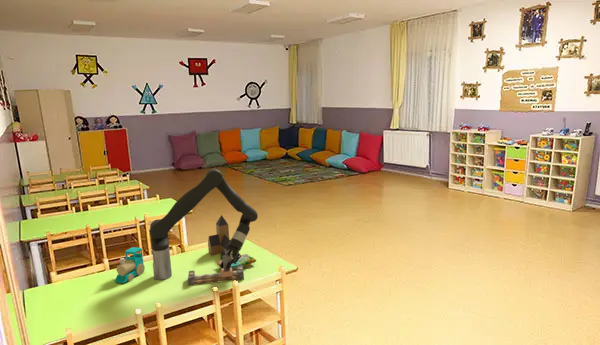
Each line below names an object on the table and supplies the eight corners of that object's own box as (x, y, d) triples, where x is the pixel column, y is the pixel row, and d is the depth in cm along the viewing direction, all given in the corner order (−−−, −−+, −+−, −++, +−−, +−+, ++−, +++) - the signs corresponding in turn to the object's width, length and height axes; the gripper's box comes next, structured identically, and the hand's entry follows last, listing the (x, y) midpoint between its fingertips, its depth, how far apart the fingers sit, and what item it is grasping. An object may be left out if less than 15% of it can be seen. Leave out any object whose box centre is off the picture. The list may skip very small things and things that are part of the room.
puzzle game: (217, 260, 243) (246, 252, 254) (217, 268, 244) (247, 259, 255) (225, 267, 233) (256, 258, 245) (226, 274, 234) (256, 265, 246)
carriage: (221, 277, 226) (220, 258, 224) (221, 273, 232) (220, 254, 230) (232, 276, 228) (231, 257, 225) (232, 272, 233) (231, 253, 231)
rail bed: (188, 285, 222) (187, 277, 221) (189, 278, 230) (188, 270, 230) (243, 279, 227) (243, 271, 226) (242, 272, 236) (242, 264, 235)
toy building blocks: (226, 248, 273) (224, 212, 268) (236, 258, 257) (234, 220, 252) (208, 252, 267) (205, 216, 262) (217, 262, 251) (215, 224, 246)
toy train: (113, 283, 228) (110, 257, 225) (134, 270, 243) (131, 246, 240) (125, 284, 225) (121, 259, 222) (145, 272, 240) (142, 248, 238)
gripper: (225, 235, 236) (211, 263, 228) (243, 240, 228) (229, 268, 221) (232, 241, 241) (218, 268, 234) (250, 245, 233) (237, 273, 226)
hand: (224, 268), depth 227 cm, fingers closed on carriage, 3 cm apart
